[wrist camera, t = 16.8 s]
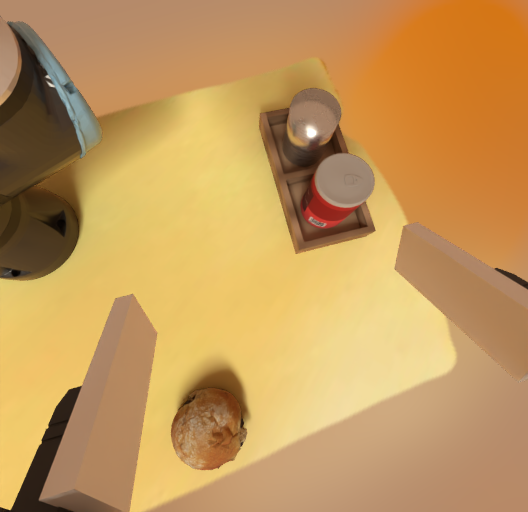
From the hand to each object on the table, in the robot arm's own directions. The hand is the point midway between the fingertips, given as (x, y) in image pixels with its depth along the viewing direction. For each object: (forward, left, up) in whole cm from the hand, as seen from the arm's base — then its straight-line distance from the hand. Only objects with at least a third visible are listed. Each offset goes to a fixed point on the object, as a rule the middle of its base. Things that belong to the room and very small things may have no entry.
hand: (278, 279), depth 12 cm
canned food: (0, +19, -29) cm, 34 cm away
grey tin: (-9, +26, -30) cm, 41 cm away
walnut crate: (-4, +23, -30) cm, 37 cm away
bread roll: (+5, -19, -30) cm, 36 cm away
